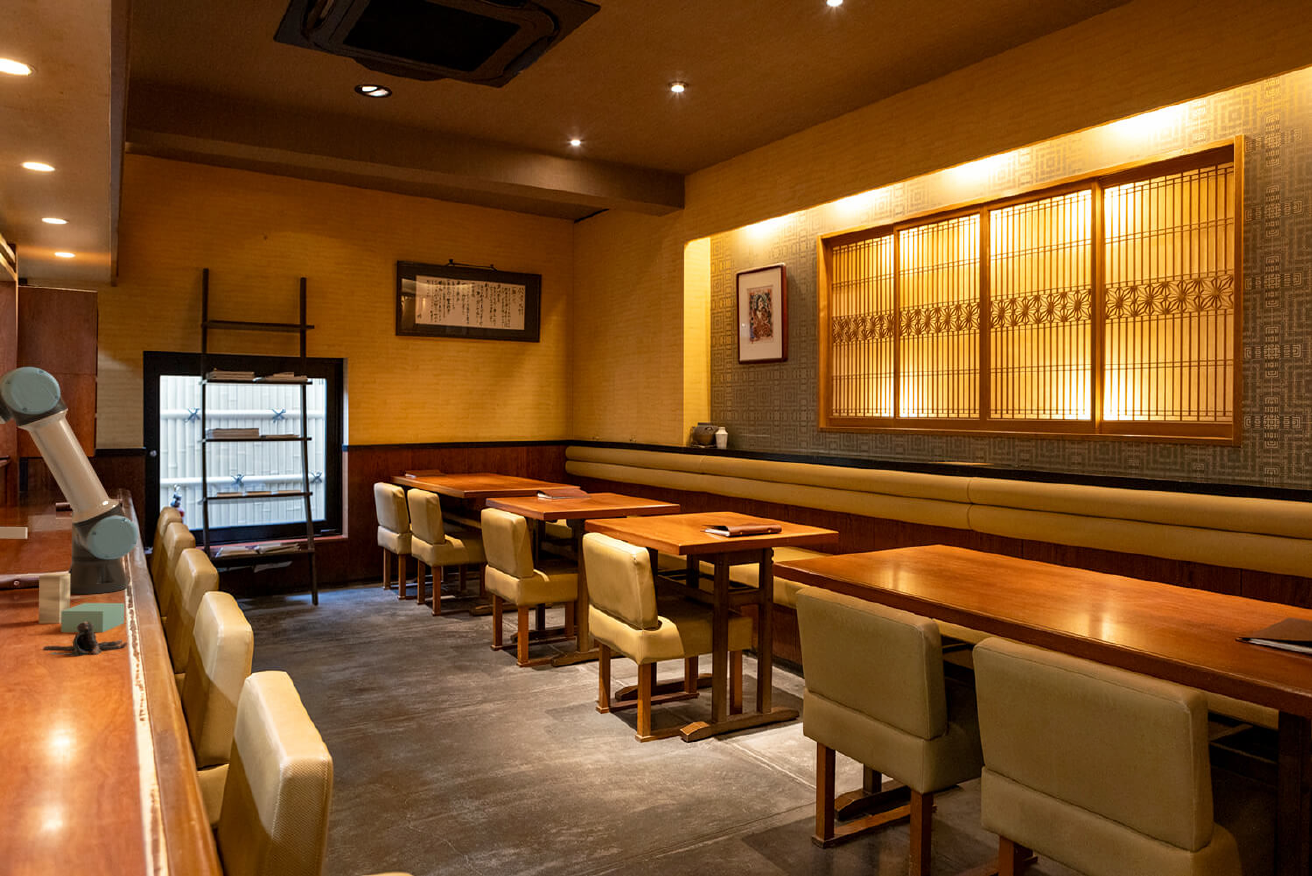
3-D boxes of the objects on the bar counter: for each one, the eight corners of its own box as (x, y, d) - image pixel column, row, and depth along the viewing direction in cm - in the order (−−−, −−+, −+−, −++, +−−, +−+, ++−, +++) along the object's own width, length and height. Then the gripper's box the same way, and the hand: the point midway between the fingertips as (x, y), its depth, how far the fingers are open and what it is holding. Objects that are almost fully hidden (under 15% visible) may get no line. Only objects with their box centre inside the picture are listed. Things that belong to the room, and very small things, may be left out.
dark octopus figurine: (128, 647, 183) (72, 619, 178) (96, 689, 180) (38, 663, 175) (126, 634, 193) (72, 608, 187) (96, 674, 190) (40, 649, 185)
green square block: (84, 624, 207) (84, 603, 207) (124, 624, 208) (124, 603, 208) (61, 633, 198) (61, 611, 198) (102, 633, 199) (102, 611, 199)
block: (49, 619, 210) (50, 573, 210) (69, 619, 211) (70, 573, 211) (38, 623, 206) (39, 576, 206) (59, 623, 206) (59, 576, 206)
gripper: (-54, 544, 217) (39, 545, 219) (-132, 559, 192) (-26, 560, 194) (-53, 513, 217) (40, 515, 219) (-131, 524, 192) (-25, 526, 194)
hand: (9, 536), depth 207 cm, fingers open, 13 cm apart
